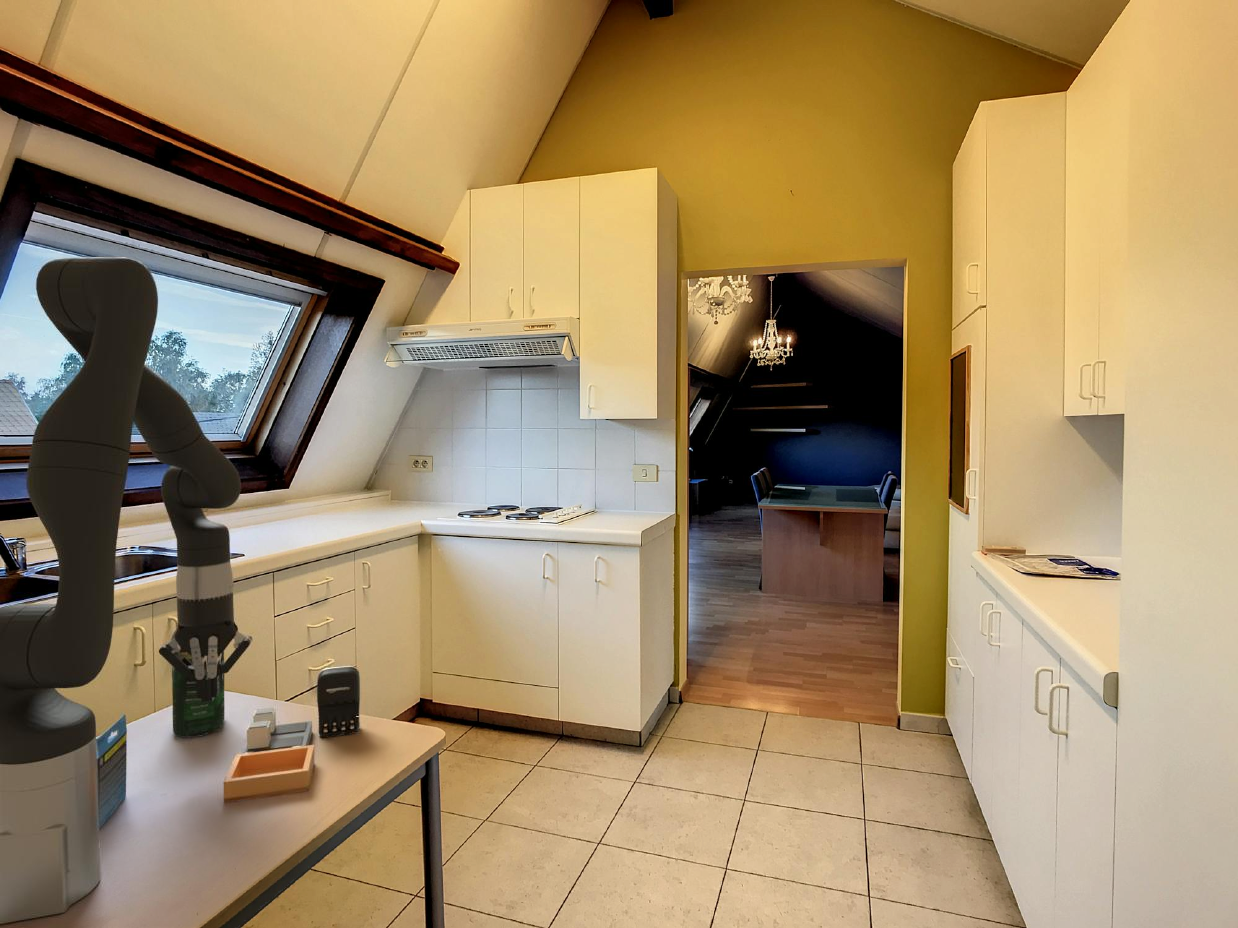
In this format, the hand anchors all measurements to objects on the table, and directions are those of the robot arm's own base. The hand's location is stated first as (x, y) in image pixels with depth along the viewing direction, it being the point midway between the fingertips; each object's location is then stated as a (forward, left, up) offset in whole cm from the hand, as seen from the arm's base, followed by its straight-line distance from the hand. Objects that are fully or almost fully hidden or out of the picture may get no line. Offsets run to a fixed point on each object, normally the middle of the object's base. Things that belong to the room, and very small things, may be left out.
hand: (208, 699), depth 108 cm
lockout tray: (-9, -10, -10) cm, 17 cm away
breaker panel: (+2, -9, -10) cm, 14 cm away
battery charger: (+6, -18, -11) cm, 22 cm away
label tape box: (-11, +11, -11) cm, 19 cm away
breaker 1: (+5, -7, -8) cm, 12 cm away
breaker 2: (0, -7, -8) cm, 11 cm away
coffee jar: (+16, +5, -11) cm, 20 cm away
